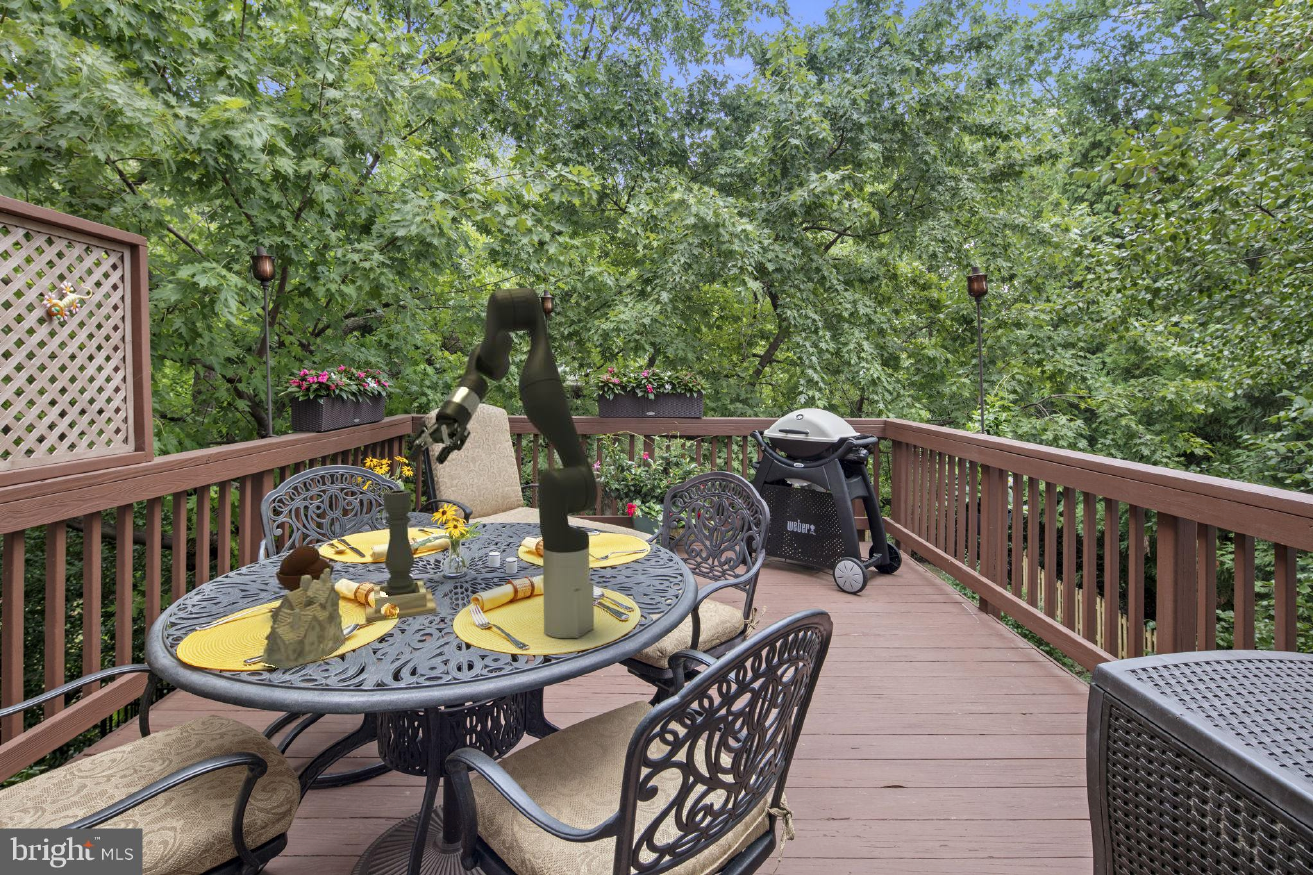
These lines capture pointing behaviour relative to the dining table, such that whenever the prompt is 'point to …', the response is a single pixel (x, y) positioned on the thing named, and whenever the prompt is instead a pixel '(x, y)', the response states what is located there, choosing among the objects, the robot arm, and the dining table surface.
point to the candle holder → (399, 543)
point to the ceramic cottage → (305, 624)
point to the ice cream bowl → (301, 567)
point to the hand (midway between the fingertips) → (424, 461)
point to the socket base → (402, 603)
